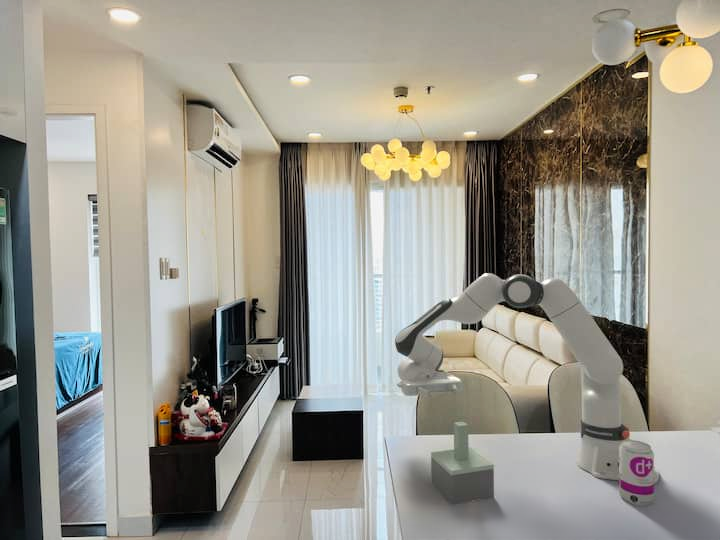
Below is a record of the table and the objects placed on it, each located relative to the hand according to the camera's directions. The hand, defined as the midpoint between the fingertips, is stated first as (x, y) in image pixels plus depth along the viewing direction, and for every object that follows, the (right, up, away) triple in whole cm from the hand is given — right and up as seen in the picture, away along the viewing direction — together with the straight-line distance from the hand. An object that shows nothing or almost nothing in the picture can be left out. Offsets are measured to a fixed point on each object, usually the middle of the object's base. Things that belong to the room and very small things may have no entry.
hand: (442, 393), depth 146 cm
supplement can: (+50, -25, -18) cm, 59 cm away
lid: (+4, -19, -11) cm, 22 cm away
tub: (+4, -25, -11) cm, 28 cm away
